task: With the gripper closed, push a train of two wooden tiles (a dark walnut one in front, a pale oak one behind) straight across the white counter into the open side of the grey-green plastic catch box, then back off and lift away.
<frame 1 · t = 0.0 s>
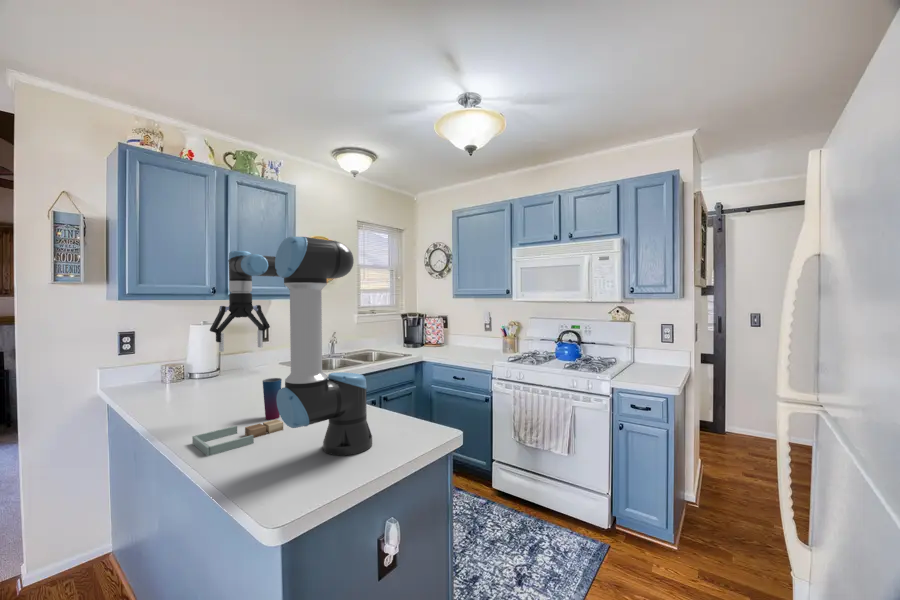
hand: (241, 349, 143), 28 cm above the counter, fingers open, 13 cm apart
walnut tile: (255, 435, 132), on the counter
oak tile: (273, 430, 136), on the counter
cup: (272, 418, 150), on the counter
catch box: (223, 443, 124), on the counter
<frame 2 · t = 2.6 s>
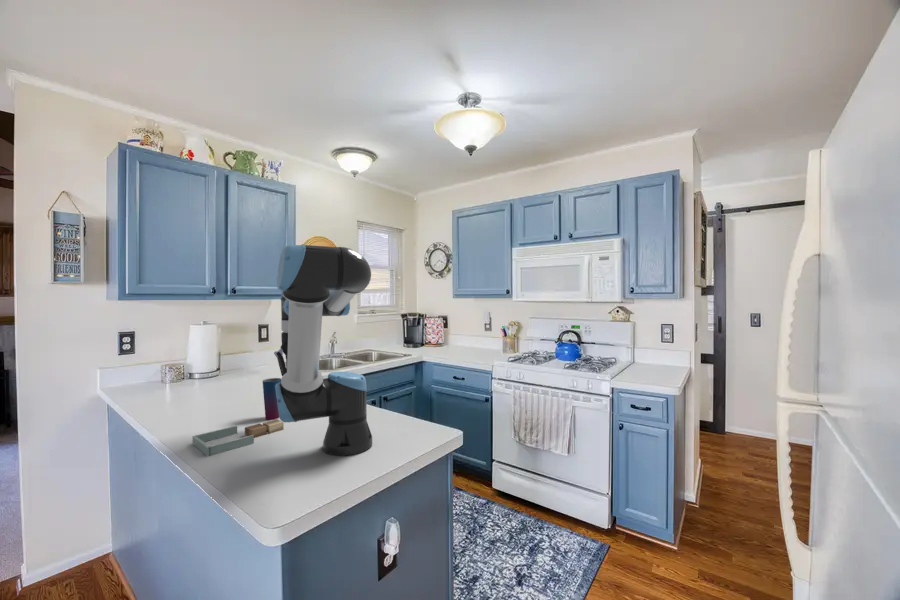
hand: (293, 394, 142), 11 cm above the counter, fingers closed
nothing on the counter moved.
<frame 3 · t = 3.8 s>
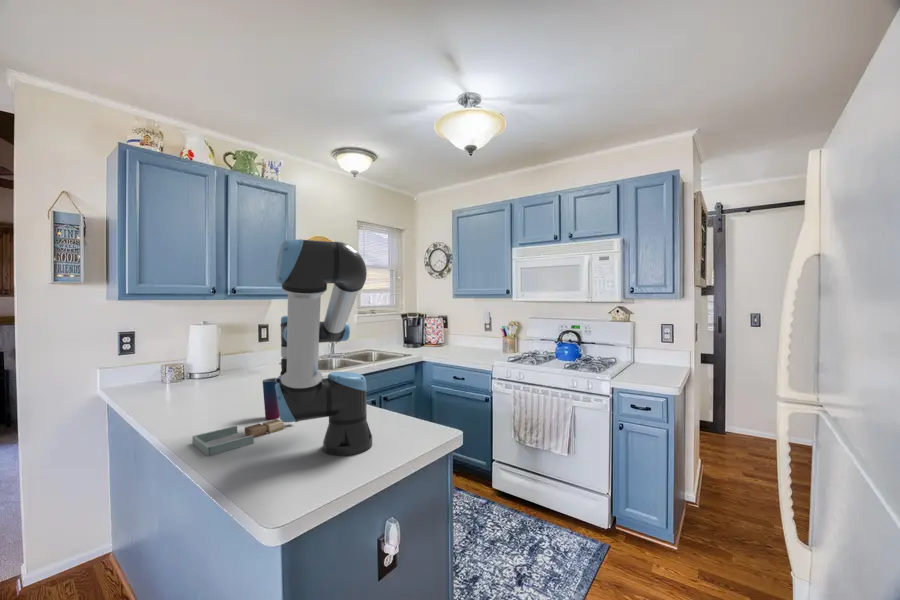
hand: (292, 420, 142), 2 cm above the counter, fingers closed
nothing on the counter moved.
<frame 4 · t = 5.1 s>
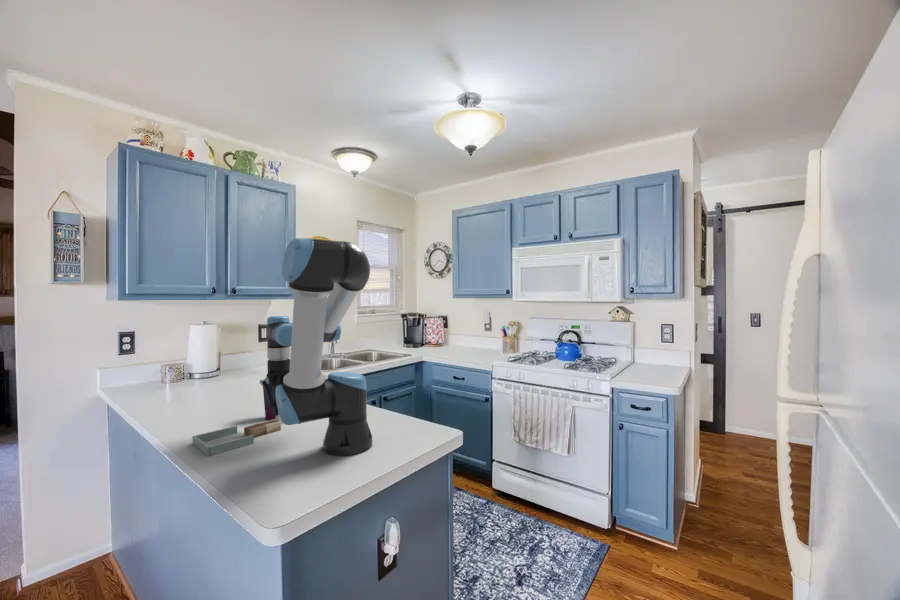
hand: (279, 423, 138), 2 cm above the counter, fingers closed
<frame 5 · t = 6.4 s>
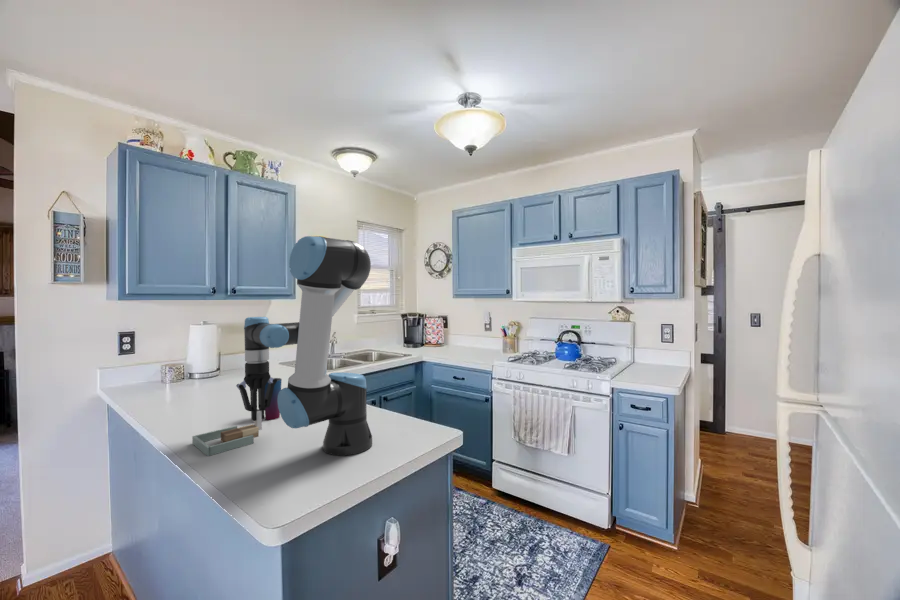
hand: (257, 429, 132), 2 cm above the counter, fingers closed
walnut tile: (231, 440, 127), on the counter, touching oak tile
oak tile: (248, 436, 130), on the counter, touching gripper, walnut tile
everything else where it was.
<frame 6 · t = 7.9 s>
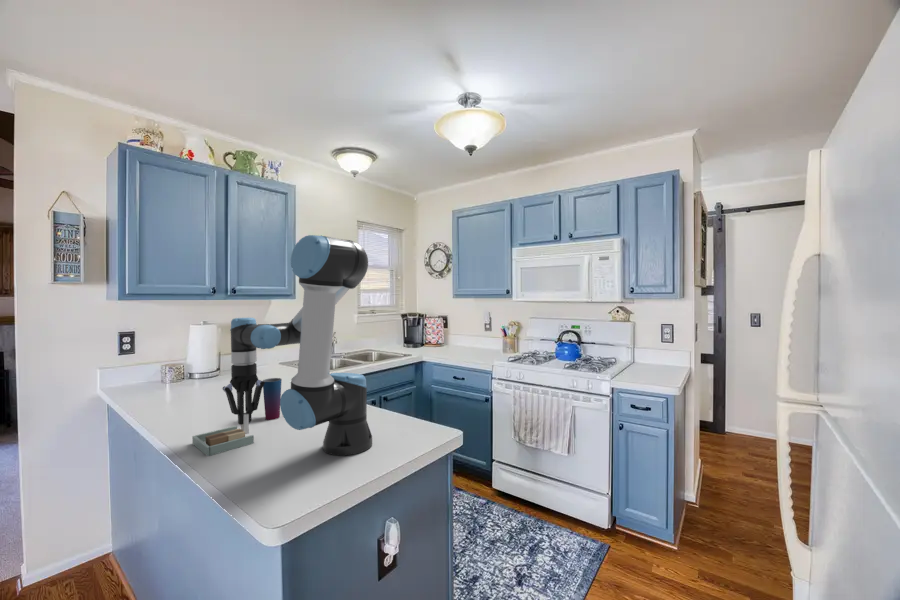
hand: (244, 432, 129), 2 cm above the counter, fingers closed
walnut tile: (217, 445, 123), on the counter
oak tile: (234, 441, 127), on the counter
everything else where it was.
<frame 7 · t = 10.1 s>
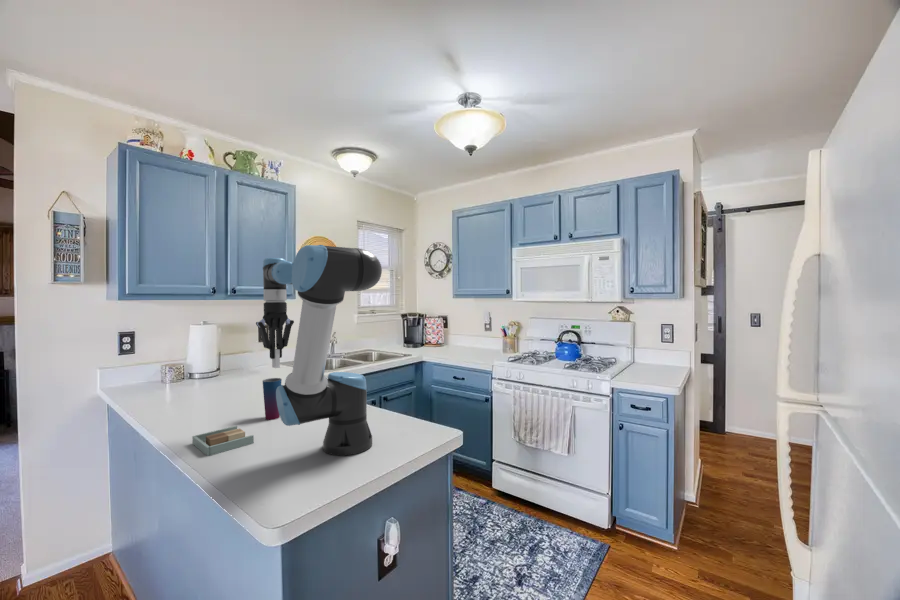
hand: (276, 367, 137), 22 cm above the counter, fingers closed
nothing on the counter moved.
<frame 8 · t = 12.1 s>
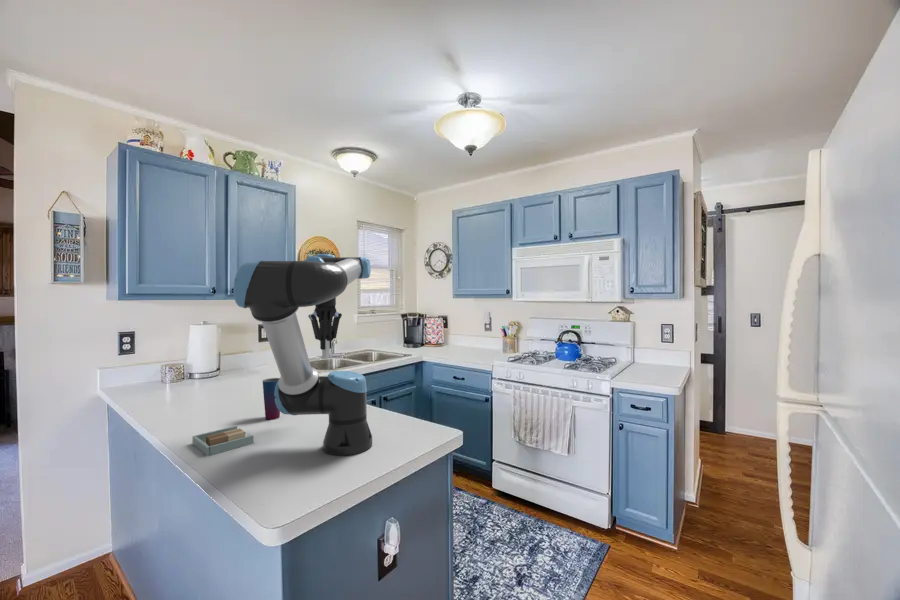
hand: (326, 357, 144), 24 cm above the counter, fingers closed
nothing on the counter moved.
at the end: walnut tile inside the target area on the catch box (1.3 cm from its centre), point 0.0 cm above the catch box's base; oak tile inside the target area on the catch box (3.8 cm from its centre), point 0.0 cm above the catch box's base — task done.
